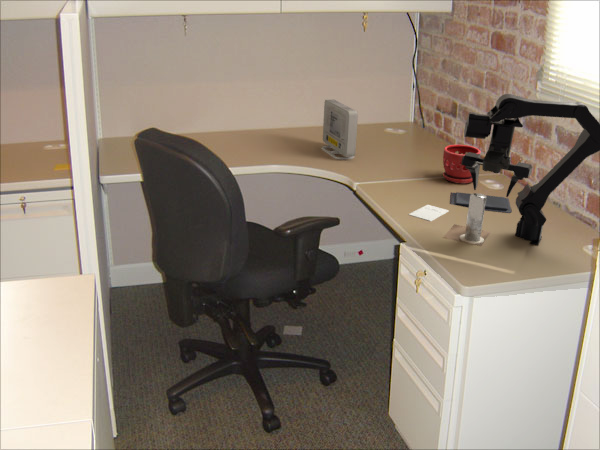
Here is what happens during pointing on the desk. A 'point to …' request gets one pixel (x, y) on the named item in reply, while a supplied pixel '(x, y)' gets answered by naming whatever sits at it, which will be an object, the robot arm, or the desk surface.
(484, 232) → the board
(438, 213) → the external hard drive
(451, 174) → the plant pot
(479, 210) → the steel pin
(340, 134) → the network device
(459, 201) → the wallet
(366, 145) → the desk surface
